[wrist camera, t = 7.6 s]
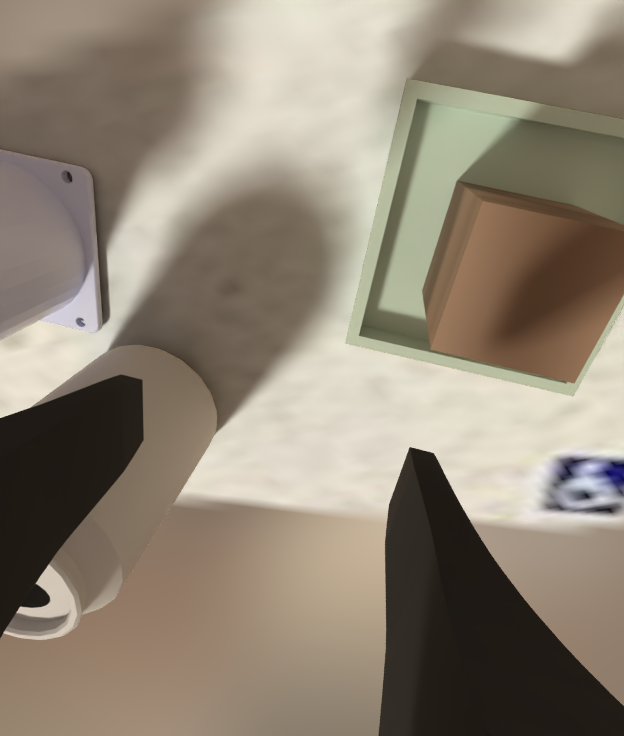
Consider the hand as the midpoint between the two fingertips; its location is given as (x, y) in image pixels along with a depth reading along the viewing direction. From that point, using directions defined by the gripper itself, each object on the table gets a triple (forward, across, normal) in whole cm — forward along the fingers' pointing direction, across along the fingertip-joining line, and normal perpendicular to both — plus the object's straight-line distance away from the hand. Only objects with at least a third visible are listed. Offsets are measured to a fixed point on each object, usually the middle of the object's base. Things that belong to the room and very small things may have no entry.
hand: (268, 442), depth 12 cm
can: (+11, +8, +8) cm, 15 cm away
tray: (+10, -6, -4) cm, 13 cm away
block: (+10, -6, -4) cm, 13 cm away
